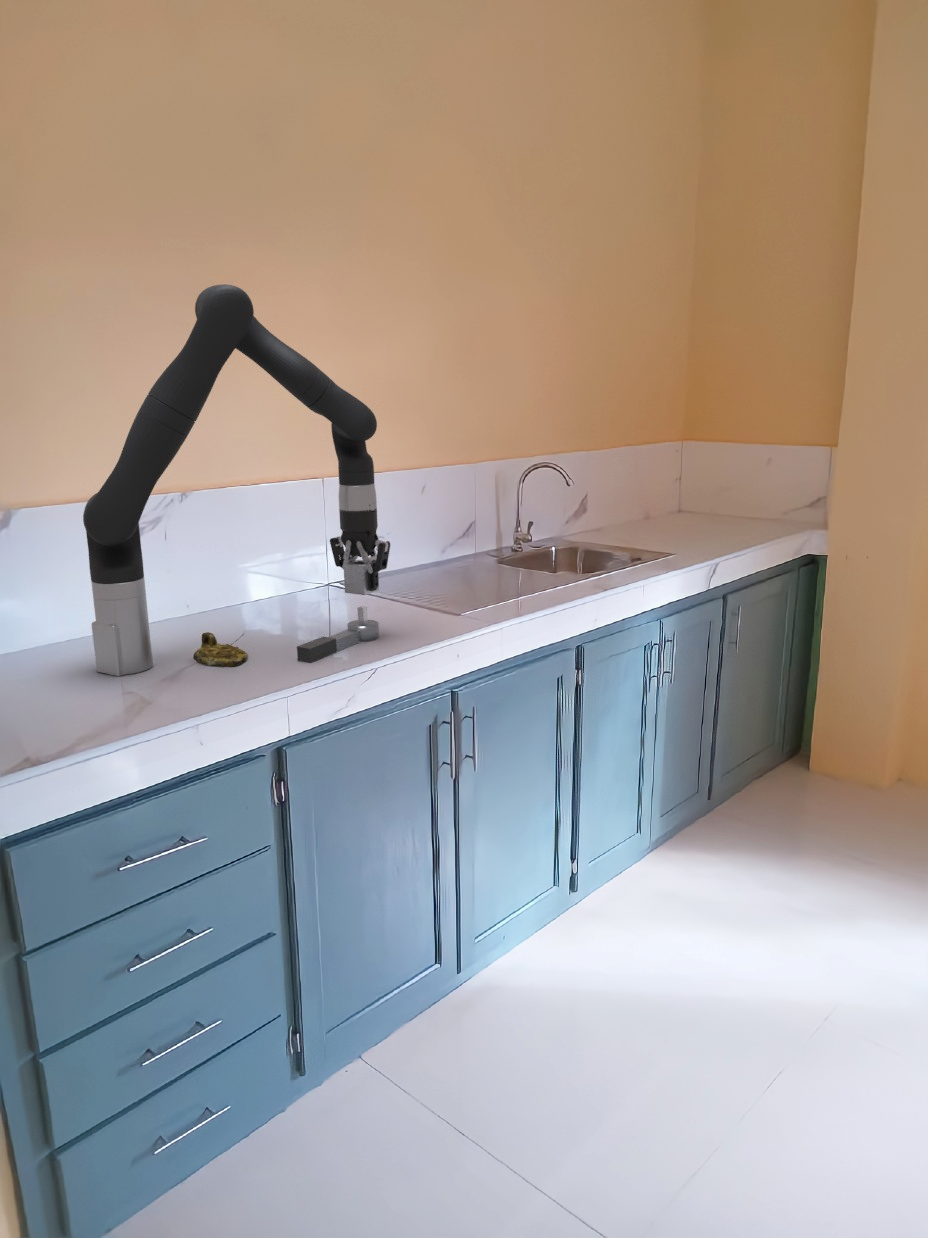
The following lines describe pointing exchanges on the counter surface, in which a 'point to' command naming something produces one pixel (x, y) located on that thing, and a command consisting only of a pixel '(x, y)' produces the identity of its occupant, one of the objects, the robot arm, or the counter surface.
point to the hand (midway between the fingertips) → (361, 588)
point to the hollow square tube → (356, 578)
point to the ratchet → (340, 638)
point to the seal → (218, 653)
